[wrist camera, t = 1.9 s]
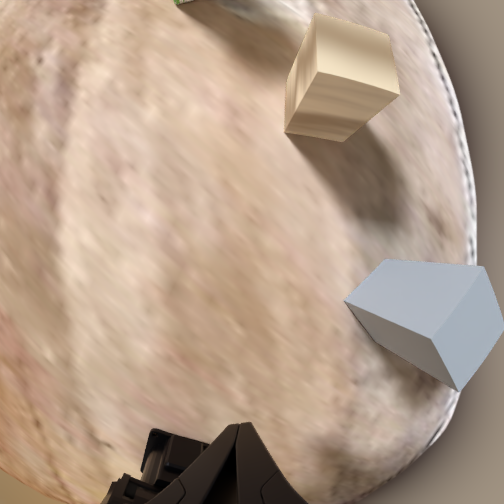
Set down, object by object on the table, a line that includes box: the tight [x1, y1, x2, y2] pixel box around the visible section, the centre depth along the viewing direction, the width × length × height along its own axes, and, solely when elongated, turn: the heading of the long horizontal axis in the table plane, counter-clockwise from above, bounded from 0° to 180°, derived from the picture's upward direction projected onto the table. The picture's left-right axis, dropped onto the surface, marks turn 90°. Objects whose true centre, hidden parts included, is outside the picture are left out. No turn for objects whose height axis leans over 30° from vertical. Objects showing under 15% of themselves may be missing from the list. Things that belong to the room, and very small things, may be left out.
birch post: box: [284, 13, 400, 142], centre depth 17 cm, size 5×5×9 cm
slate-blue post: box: [344, 259, 504, 392], centre depth 17 cm, size 5×5×11 cm
